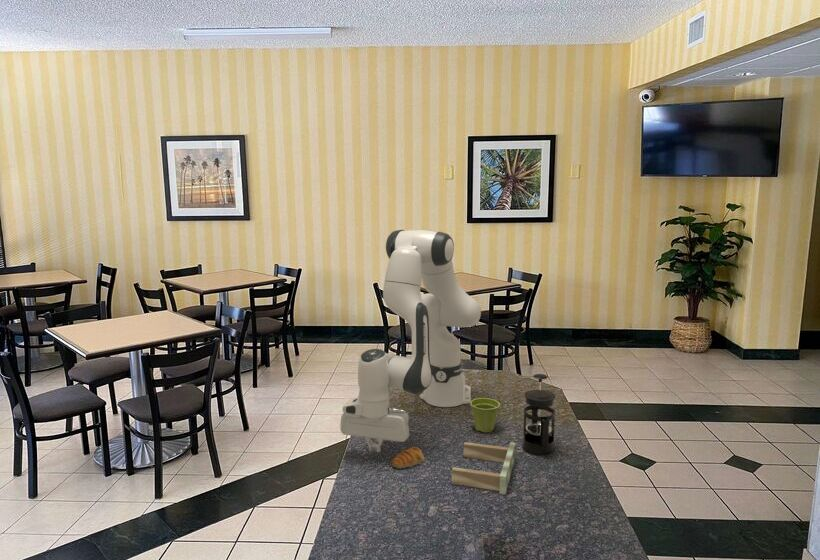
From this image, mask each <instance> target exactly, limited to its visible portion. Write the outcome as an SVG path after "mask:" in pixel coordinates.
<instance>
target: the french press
mask: <svg viewBox="0 0 820 560" xmlns="http://www.w3.org/2000/svg"><path fill="white" fill-rule="evenodd" d="M532 377H533V378H534V379H537V380H538V382H539V389H531V390H527V391H526V392H524V395H523V396H524V398H525V403H526V404H527V405H528V406H525V407H524V409H523V430H522V431H523V434H522V437H523V438H522V450H523V451H524V452H525V453H527V454H529V455H532V456H538V457H539V456H541V457H542V456H544V457H545V456H549V455H551V454H553V453H554V451H555V446H554V445H555V420H556V419H555V417H556V411H555V409H554V408H552V406H554V403H555V399H556V395H555V393H554V392H551V391H549V390H544V389H542V387H541V386H542V382H543V380H546V379H548V378H549V376H548V375H547V374H544V373H535V374H533V376H532ZM541 410H542V411H546V412H548V413H549V412H550V413H551V414H550V415H547V416H546V415H545V416H541ZM528 411H531V414H530V413H527V412H528ZM527 419H528V420H531V422H530V423H527ZM550 421H551V425H550ZM536 443H537V444H536ZM538 443H539V444H538Z"/></svg>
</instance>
